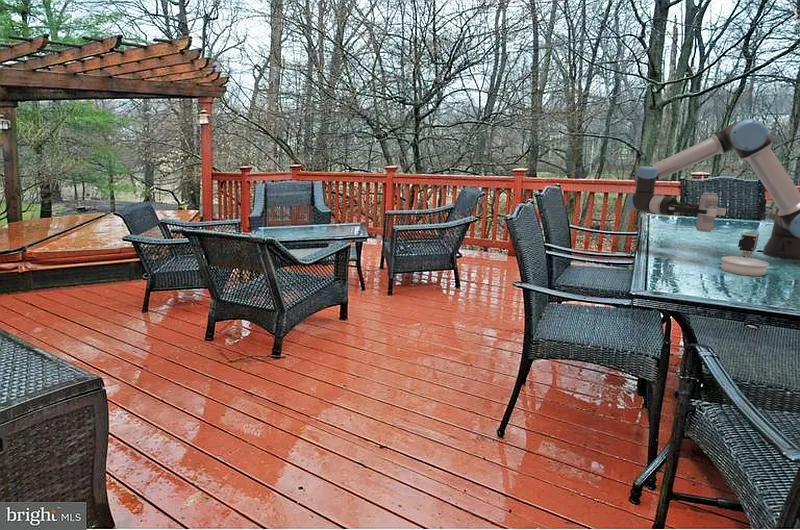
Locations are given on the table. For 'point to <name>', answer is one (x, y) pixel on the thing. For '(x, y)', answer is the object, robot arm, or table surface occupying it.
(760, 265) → the pedestal
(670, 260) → the table surface
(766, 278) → the table surface
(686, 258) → the table surface
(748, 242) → the pneumatic valve
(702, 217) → the energy drink can
